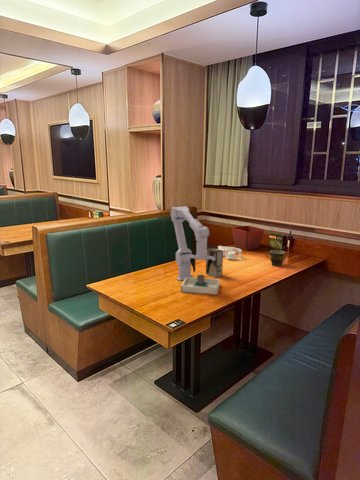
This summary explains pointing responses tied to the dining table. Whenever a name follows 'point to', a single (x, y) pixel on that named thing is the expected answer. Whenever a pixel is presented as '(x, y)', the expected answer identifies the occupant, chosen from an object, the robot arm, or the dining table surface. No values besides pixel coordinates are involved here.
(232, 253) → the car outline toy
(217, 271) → the coffee box
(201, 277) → the cylinder
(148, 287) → the dining table surface
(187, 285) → the walled box
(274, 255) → the ceramic cup
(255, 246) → the plant pot
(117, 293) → the dining table surface
